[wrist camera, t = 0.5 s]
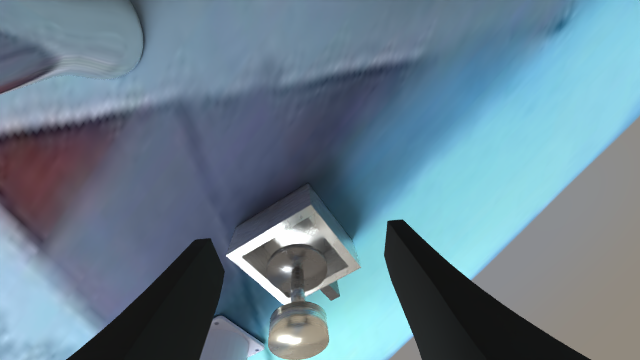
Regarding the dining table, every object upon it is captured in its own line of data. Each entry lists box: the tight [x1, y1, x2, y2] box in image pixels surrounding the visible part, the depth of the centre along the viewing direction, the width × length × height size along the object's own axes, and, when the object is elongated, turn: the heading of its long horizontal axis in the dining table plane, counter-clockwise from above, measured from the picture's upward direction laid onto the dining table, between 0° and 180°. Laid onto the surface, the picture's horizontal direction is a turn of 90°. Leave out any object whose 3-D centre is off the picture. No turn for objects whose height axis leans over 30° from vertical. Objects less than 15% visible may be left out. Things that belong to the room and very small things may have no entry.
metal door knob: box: [266, 244, 329, 360], centre depth 17 cm, size 5×5×6 cm
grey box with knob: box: [226, 183, 361, 305], centre depth 22 cm, size 8×10×4 cm
